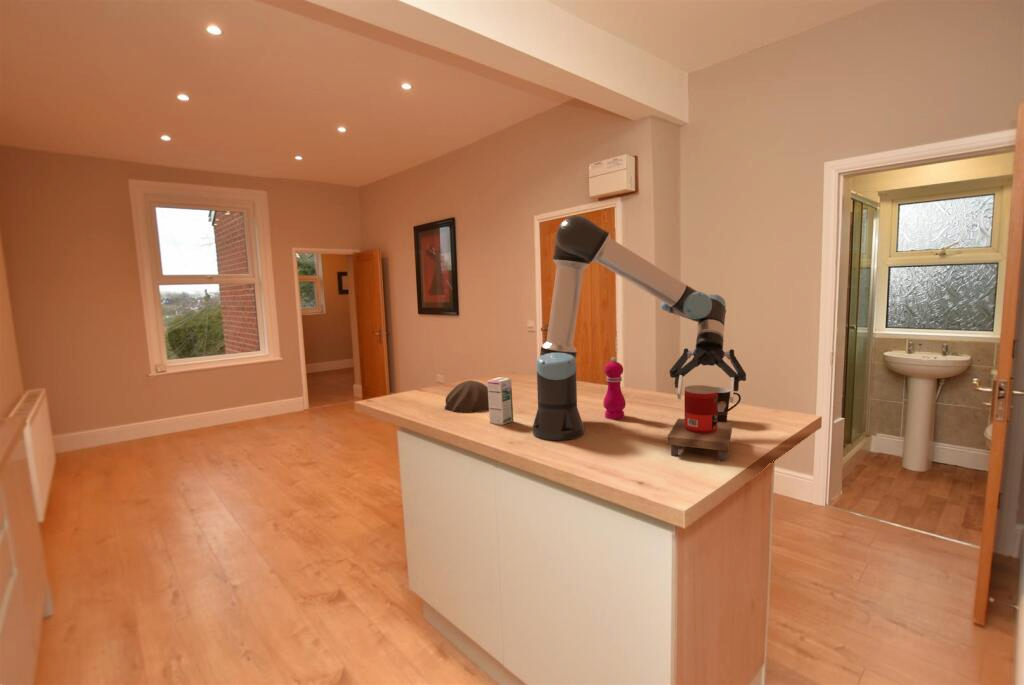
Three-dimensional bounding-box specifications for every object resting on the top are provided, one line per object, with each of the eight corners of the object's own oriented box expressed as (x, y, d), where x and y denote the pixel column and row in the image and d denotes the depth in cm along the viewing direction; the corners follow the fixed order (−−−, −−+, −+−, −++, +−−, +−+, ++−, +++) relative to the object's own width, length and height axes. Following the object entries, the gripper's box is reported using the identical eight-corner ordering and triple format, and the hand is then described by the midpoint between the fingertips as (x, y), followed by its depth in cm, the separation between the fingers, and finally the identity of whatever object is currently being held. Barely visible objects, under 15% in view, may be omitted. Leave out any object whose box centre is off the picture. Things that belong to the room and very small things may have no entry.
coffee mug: (700, 423, 148) (700, 392, 147) (700, 416, 156) (700, 386, 155) (742, 426, 144) (742, 393, 143) (740, 419, 152) (740, 387, 151)
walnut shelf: (667, 456, 122) (667, 436, 121) (677, 435, 138) (677, 418, 137) (728, 463, 116) (728, 442, 115) (731, 440, 132) (732, 423, 131)
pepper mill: (628, 415, 161) (628, 356, 159) (621, 420, 155) (620, 359, 153) (608, 413, 165) (607, 355, 163) (600, 418, 159) (599, 358, 157)
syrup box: (503, 425, 155) (501, 381, 154) (488, 423, 159) (486, 379, 157) (513, 421, 160) (512, 378, 158) (499, 418, 163) (497, 376, 162)
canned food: (720, 434, 122) (720, 391, 121) (686, 433, 123) (687, 391, 122) (713, 425, 129) (714, 385, 128) (682, 425, 131) (682, 385, 130)
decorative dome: (478, 398, 197) (477, 374, 196) (506, 406, 181) (505, 380, 180) (435, 406, 186) (434, 380, 185) (460, 416, 170) (459, 388, 169)
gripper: (756, 347, 142) (755, 408, 131) (668, 345, 154) (660, 402, 142) (756, 330, 137) (755, 393, 125) (665, 330, 148) (656, 388, 137)
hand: (704, 398), depth 134 cm, fingers open, 13 cm apart
